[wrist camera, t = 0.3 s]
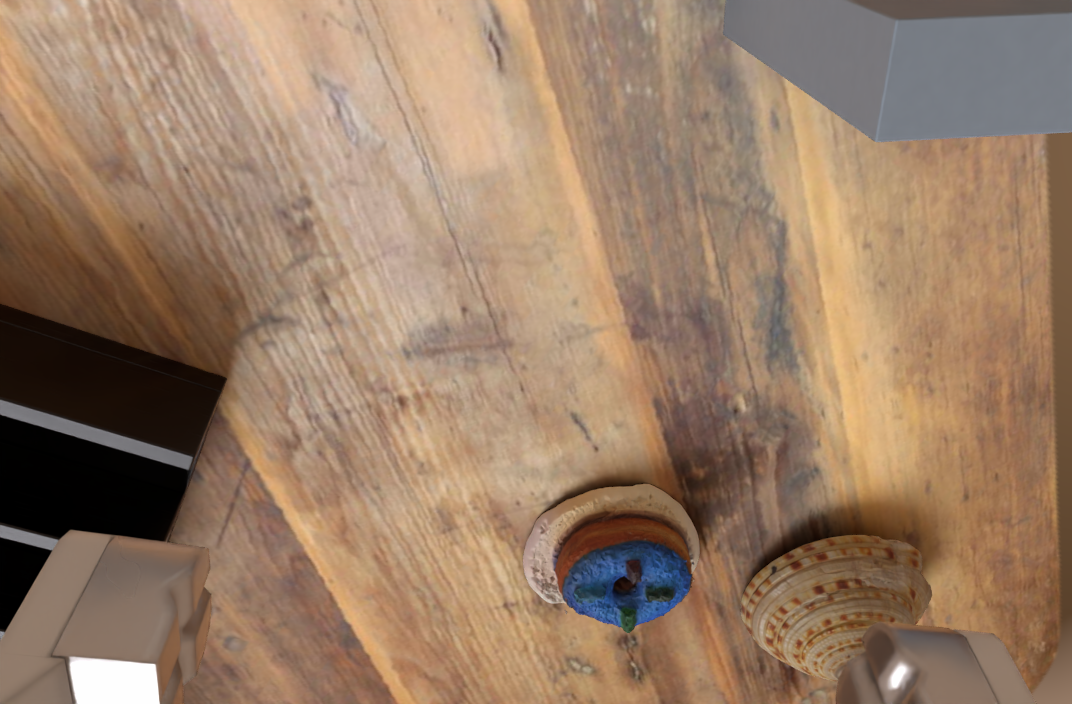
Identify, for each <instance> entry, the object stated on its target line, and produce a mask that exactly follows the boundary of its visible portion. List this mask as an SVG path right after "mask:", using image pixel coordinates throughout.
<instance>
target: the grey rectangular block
mask: <svg viewBox="0 0 1072 704" xmlns="http://www.w3.org/2000/svg"><path fill="white" fill-rule="evenodd" d="M723 34H724V35H725V36H726V37H728V38H729V39H730V40H732V41H733V42H735V43H736V44H737V45H739V46H740V47H742V48H743V49H745V50H746V51H747V52H749V53H750V54H752V55H753V56H754V57H756V58H757V59H759V60H760V61H762V62H763V63H764V64H766V65H767V66H769V67H770V68H771V69H773V70H774V71H776V72H777V73H779V74H780V75H781V76H783V77H784V78H786V79H787V80H788V81H790V82H791V83H793V84H794V85H796V86H797V87H798V88H800V89H801V90H803V91H804V92H805V93H807V94H808V95H810V96H811V97H813V98H814V99H815V100H817V101H818V102H820V103H821V104H822V105H824V106H825V107H827V108H828V109H830V110H831V111H832V112H834V113H835V114H837V115H838V116H840V117H841V118H842V119H844V120H845V121H847V122H848V123H849V124H851V125H852V126H854V127H855V128H857V129H858V130H859V131H861V132H862V133H864V134H865V135H866V136H868V137H869V138H871V139H872V140H874V141H875V142H889V141H909V140H929V139H949V138H968V137H988V136H1008V135H1027V134H1047V133H1066V132H1072V0H726V6H725V18H724V31H723Z"/></svg>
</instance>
